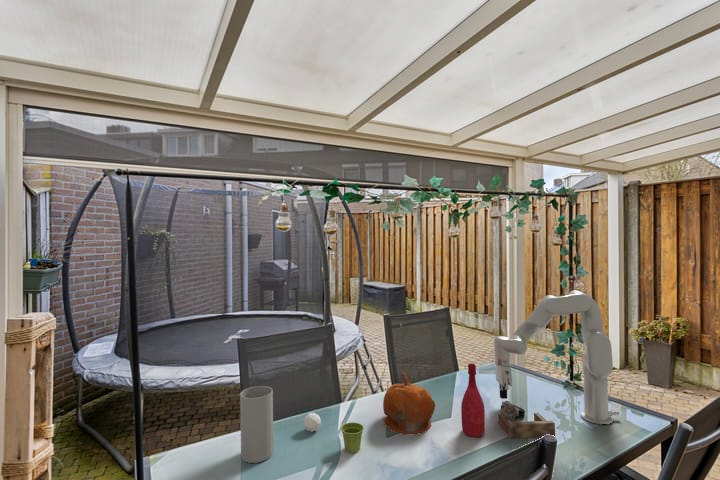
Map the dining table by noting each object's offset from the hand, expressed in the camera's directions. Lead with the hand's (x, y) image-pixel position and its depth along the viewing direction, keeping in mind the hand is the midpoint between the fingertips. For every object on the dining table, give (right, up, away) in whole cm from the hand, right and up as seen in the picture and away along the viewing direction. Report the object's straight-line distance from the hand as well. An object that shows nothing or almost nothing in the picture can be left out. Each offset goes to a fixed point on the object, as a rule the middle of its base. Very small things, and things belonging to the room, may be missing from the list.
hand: (503, 397), depth 186 cm
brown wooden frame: (+1, -4, -23) cm, 23 cm away
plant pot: (-76, -6, -36) cm, 84 cm away
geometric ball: (-94, -6, -20) cm, 96 cm away
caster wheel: (+1, -5, -9) cm, 10 cm away
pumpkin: (-50, -6, -14) cm, 52 cm away
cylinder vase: (-113, -6, -39) cm, 120 cm away
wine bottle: (-23, -5, -25) cm, 34 cm away
